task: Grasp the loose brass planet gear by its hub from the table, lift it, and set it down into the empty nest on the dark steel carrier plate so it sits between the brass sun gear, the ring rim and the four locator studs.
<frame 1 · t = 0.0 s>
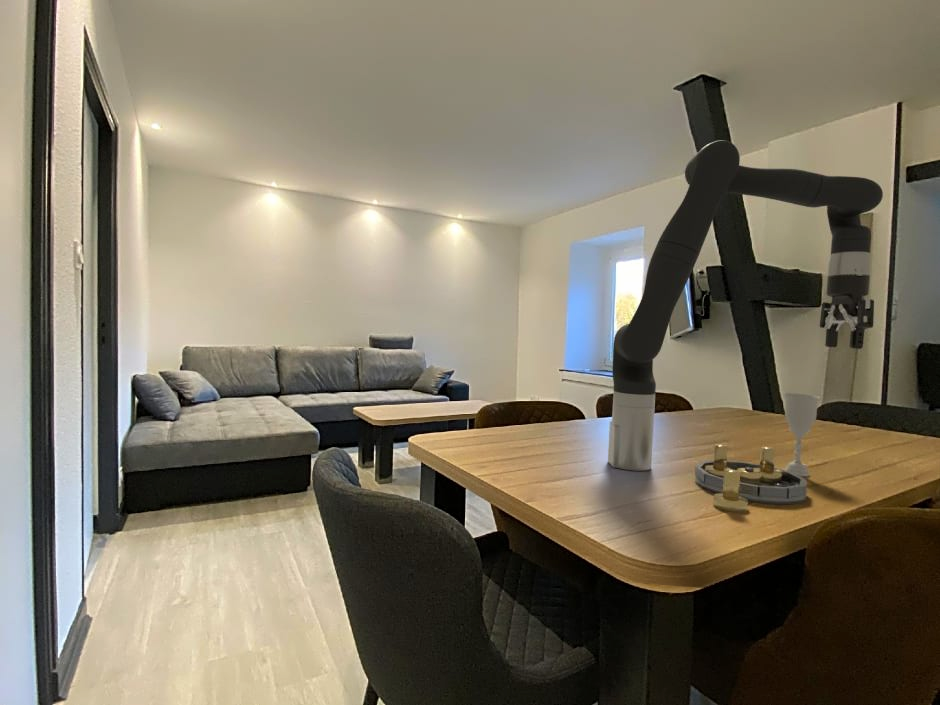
hand: (843, 347, 113), 29 cm above the table, fingers open, 8 cm apart
planet gear: (729, 507, 92), on the table
chalice: (796, 474, 117), on the table
carrier: (748, 487, 104), on the table
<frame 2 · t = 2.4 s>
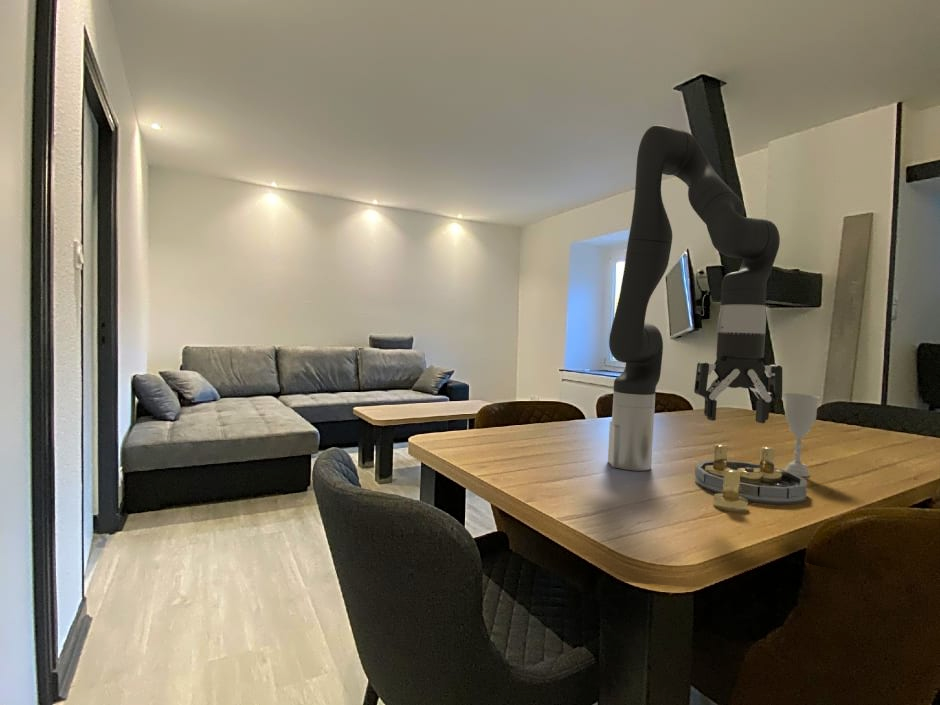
hand: (735, 421, 91), 16 cm above the table, fingers open, 8 cm apart
nothing on the table moved.
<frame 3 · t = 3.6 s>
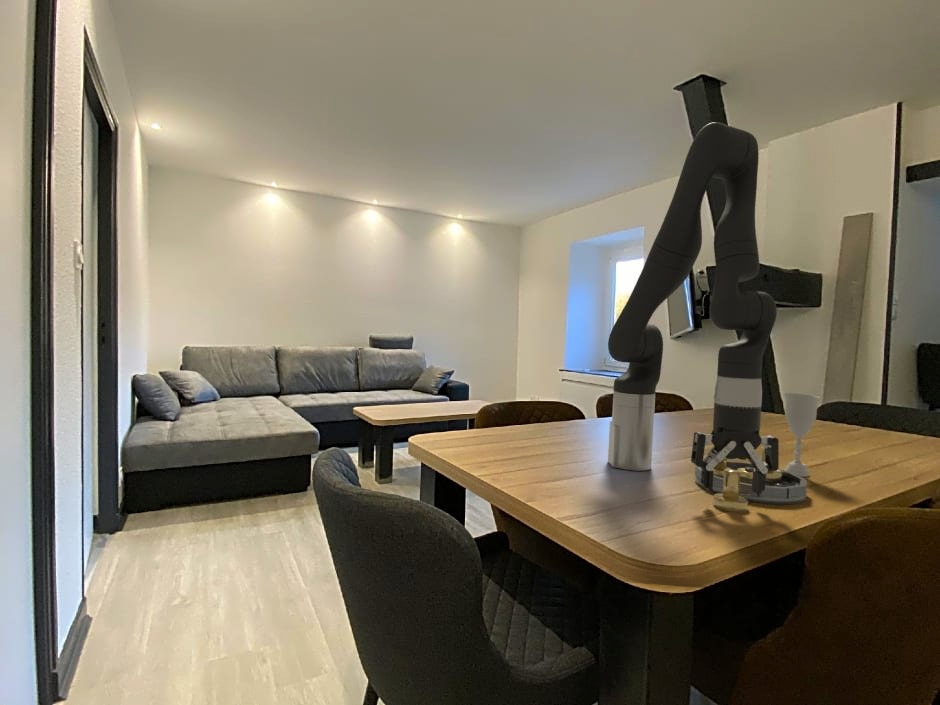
hand: (732, 491, 92), 3 cm above the table, fingers open, 8 cm apart
nothing on the table moved.
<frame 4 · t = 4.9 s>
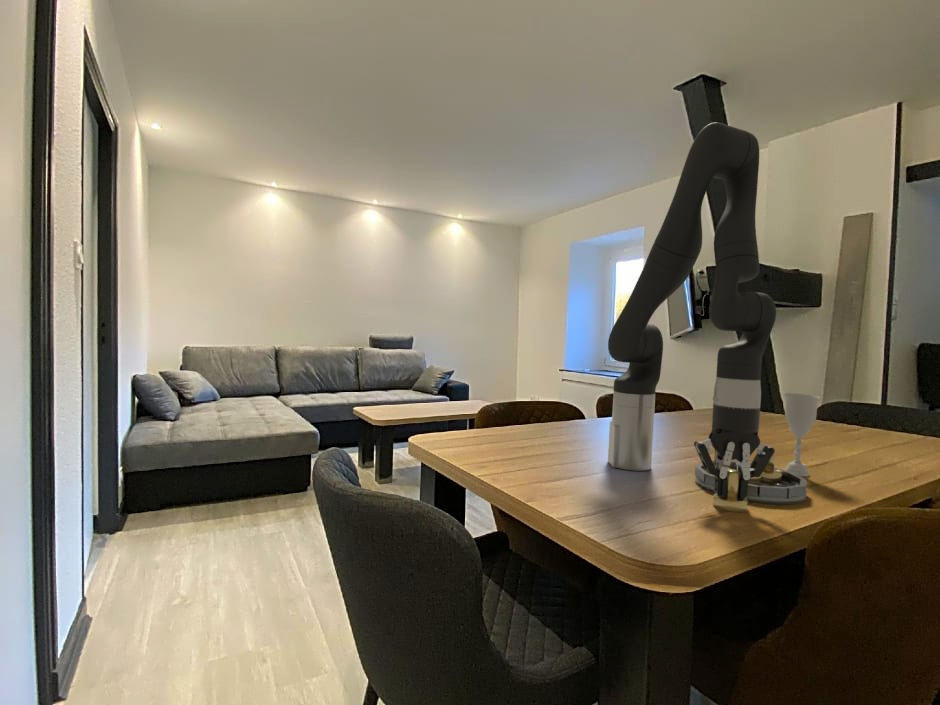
hand: (730, 497, 92), 2 cm above the table, fingers closed on planet gear, 2 cm apart
planet gear: (729, 506, 92), on the table, touching gripper
everything else where it was.
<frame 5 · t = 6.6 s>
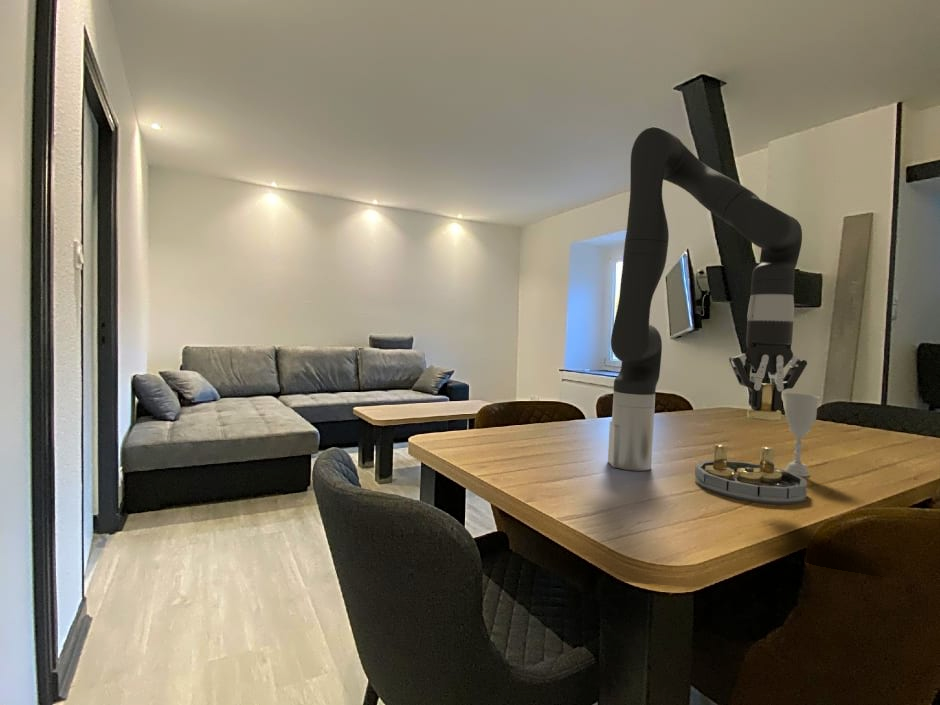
hand: (764, 409, 97), 17 cm above the table, fingers closed on planet gear, 2 cm apart
planet gear: (763, 418, 97), point 15 cm above the table, touching gripper
everything else where it was.
when the fingers open (4 cm above the table, at t = 8.4 s): planet gear drops 2 cm, resting on carrier.
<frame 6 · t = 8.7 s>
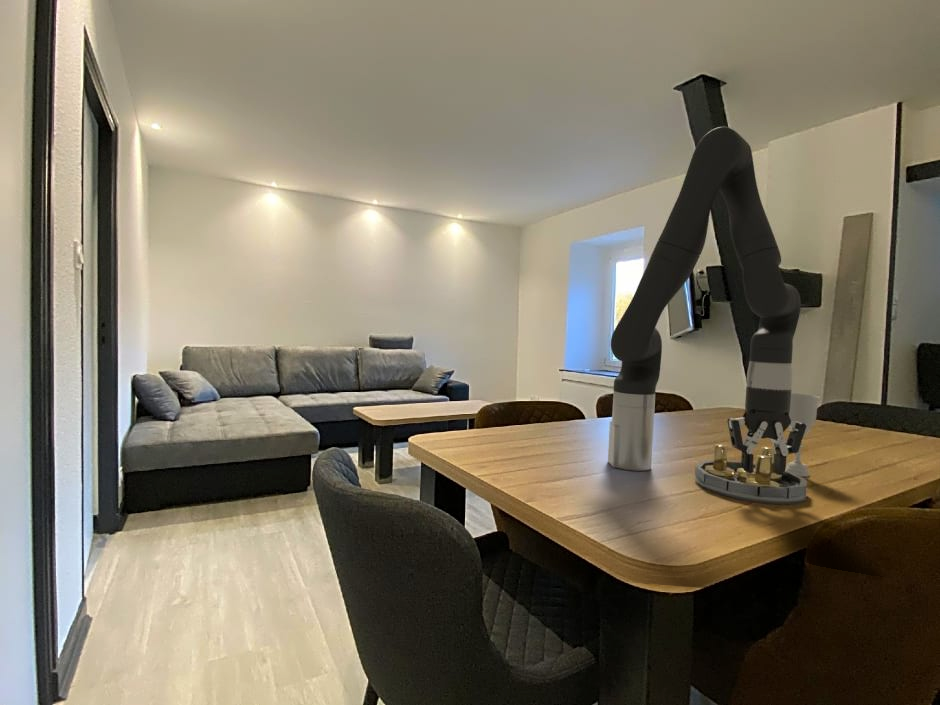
hand: (762, 472, 98), 5 cm above the table, fingers open, 5 cm apart
planet gear: (761, 490, 99), point 1 cm above the table, touching carrier
everything else where it was.
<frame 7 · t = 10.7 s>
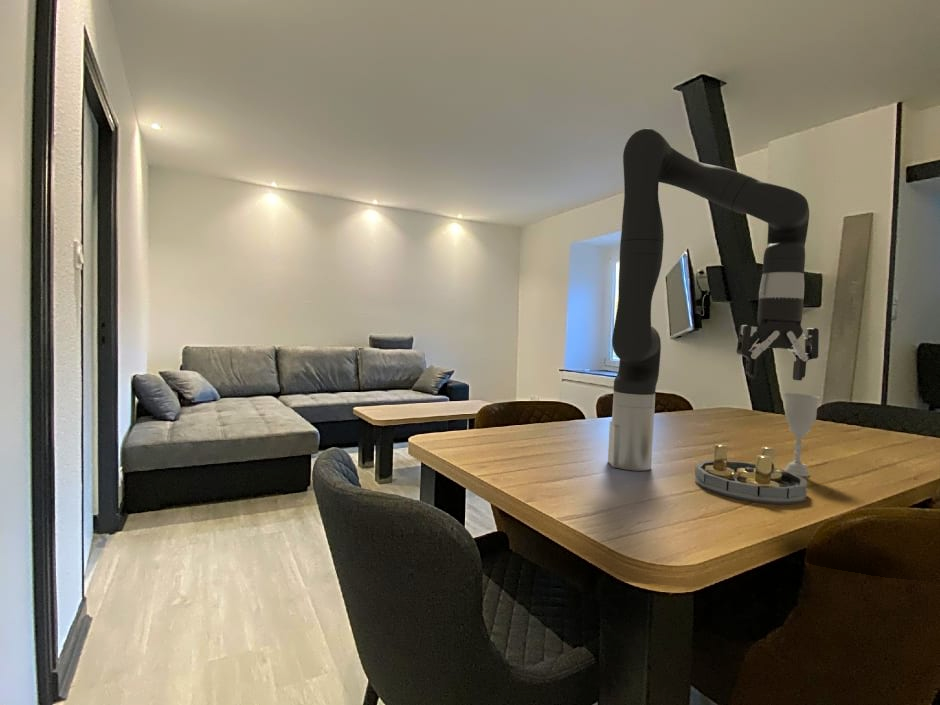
hand: (774, 378, 101), 23 cm above the table, fingers open, 8 cm apart
nothing on the table moved.
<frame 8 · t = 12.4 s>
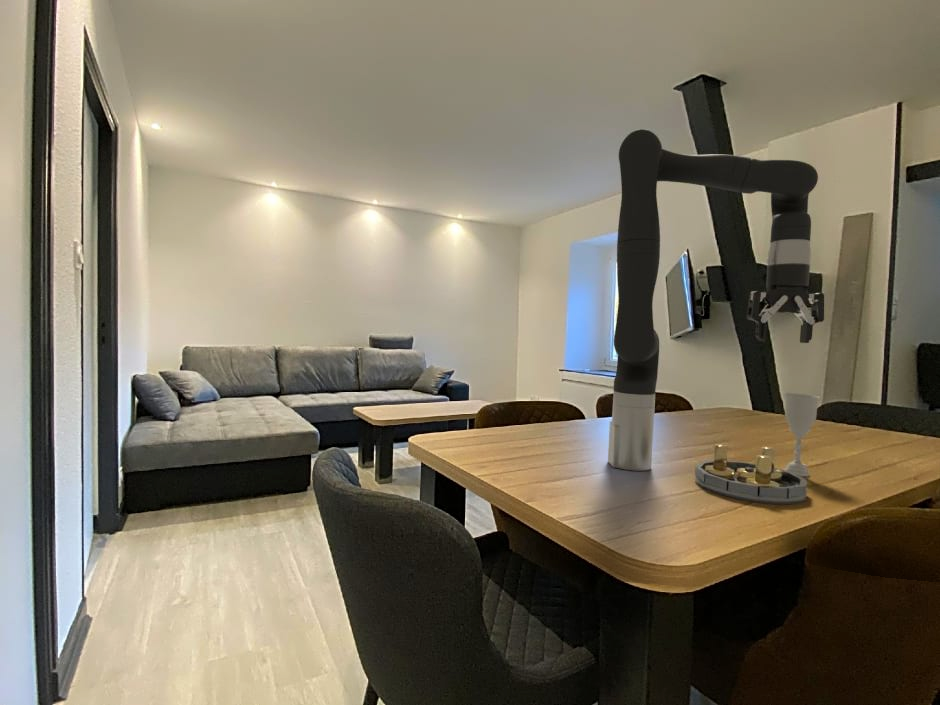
hand: (783, 342, 106), 30 cm above the table, fingers open, 8 cm apart
nothing on the table moved.
at the end: planet gear 0.0 cm from the target spot on the carrier, point 1.2 cm above the carrier's base; planet gear tilted 0°; the gripper is holding nothing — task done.
